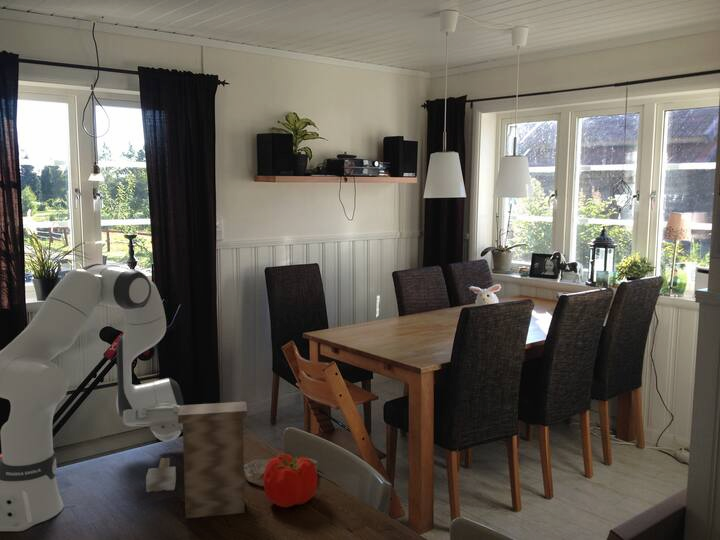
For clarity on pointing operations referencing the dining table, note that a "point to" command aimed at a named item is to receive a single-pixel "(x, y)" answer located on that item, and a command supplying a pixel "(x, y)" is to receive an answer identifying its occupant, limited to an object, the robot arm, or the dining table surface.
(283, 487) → the tomato
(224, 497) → the walnut stand
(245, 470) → the clay tablet
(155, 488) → the mallet
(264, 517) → the dining table surface
